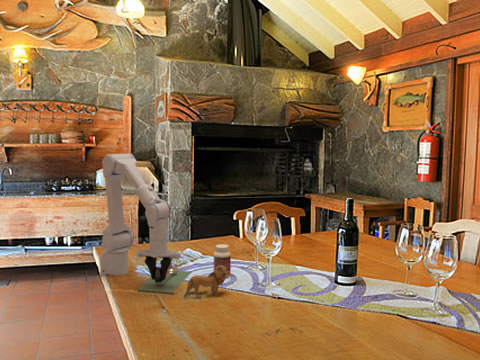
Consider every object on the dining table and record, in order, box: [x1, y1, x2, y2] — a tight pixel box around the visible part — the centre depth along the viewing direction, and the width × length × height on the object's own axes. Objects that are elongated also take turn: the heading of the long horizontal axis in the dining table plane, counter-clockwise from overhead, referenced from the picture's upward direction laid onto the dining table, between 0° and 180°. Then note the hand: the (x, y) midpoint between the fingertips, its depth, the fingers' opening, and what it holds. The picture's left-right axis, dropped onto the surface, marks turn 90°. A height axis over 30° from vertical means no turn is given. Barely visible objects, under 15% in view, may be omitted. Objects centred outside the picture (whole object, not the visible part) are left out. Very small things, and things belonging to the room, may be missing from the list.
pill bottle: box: [213, 244, 232, 278], centre depth 159 cm, size 6×6×11 cm
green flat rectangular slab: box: [137, 270, 192, 296], centre depth 152 cm, size 12×21×1 cm, turn 169°
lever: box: [154, 265, 179, 285], centre depth 153 cm, size 4×18×6 cm, turn 169°
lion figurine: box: [183, 265, 227, 299], centre depth 140 cm, size 15×5×9 cm, turn 116°
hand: (158, 279), depth 146 cm, fingers closed on lever, 3 cm apart
